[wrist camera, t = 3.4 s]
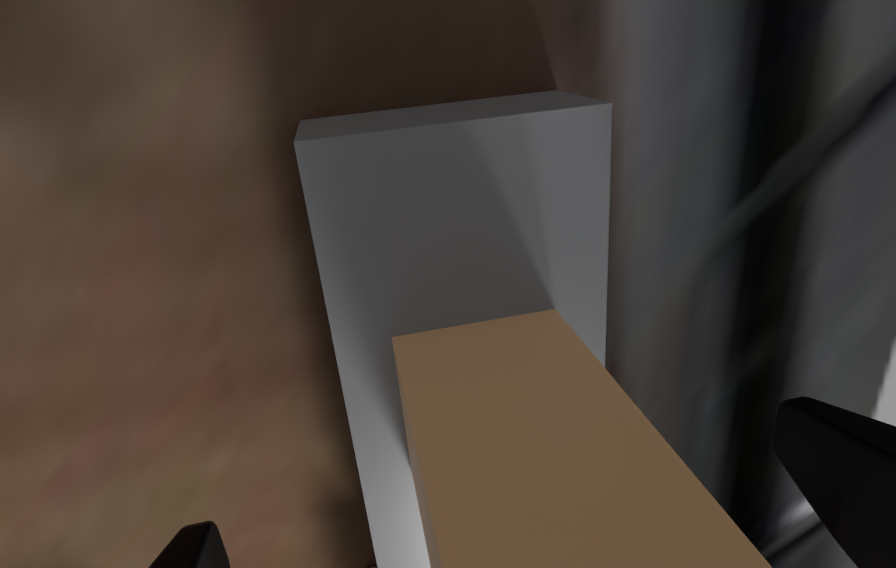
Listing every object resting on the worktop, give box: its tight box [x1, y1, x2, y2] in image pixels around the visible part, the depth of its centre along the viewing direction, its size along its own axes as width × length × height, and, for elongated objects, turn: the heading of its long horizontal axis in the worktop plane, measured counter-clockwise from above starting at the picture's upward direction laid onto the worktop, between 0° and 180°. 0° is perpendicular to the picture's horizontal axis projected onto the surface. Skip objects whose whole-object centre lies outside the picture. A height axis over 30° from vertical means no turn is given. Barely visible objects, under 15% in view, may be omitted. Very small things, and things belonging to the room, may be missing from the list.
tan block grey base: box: [294, 90, 772, 568], centre depth 9 cm, size 5×10×10 cm, turn 5°
